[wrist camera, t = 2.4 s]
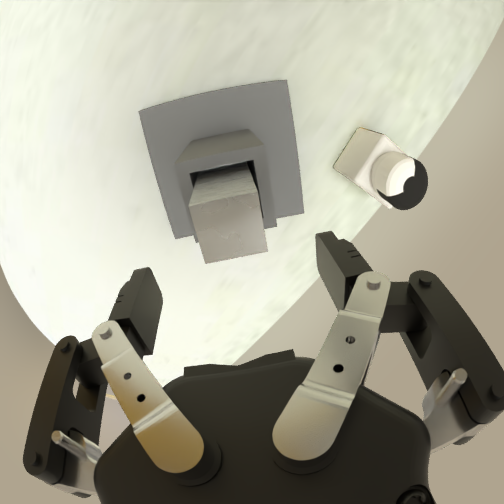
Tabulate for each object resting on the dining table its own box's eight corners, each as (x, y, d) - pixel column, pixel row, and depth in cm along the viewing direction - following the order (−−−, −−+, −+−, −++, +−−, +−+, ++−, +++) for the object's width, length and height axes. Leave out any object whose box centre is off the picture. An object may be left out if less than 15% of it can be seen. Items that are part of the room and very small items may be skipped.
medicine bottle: (391, 154, 35) (443, 178, 25) (367, 191, 38) (411, 227, 28) (358, 125, 33) (408, 141, 23) (331, 167, 36) (373, 197, 26)
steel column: (205, 149, 31) (187, 205, 15) (239, 142, 31) (258, 190, 15) (212, 181, 33) (204, 264, 17) (245, 174, 33) (268, 252, 17)
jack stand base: (141, 110, 29) (93, 119, 17) (284, 80, 29) (324, 69, 17) (176, 234, 39) (158, 301, 26) (301, 209, 39) (338, 266, 26)
